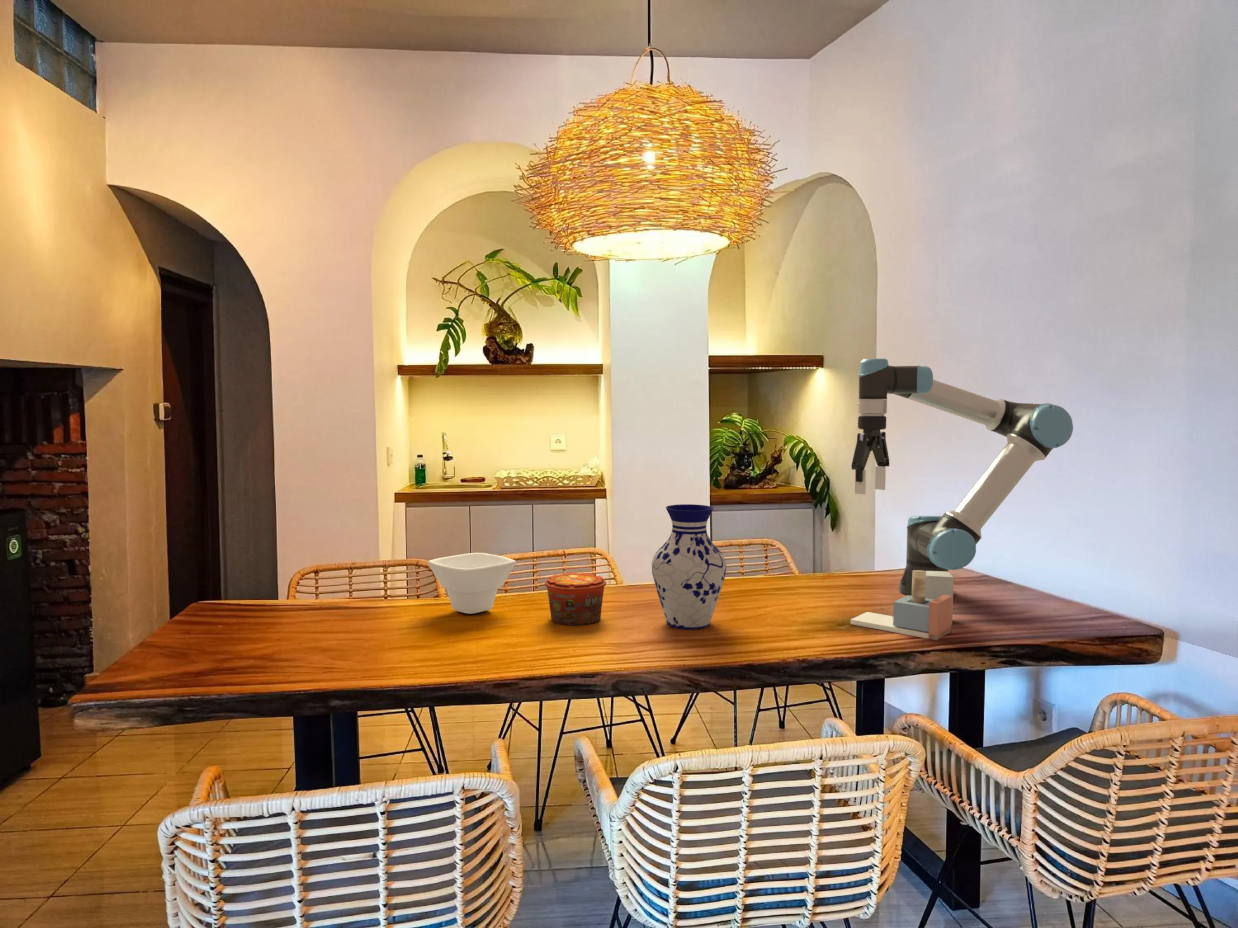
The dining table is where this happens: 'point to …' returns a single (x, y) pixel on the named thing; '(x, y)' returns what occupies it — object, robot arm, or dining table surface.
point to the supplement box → (939, 585)
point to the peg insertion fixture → (937, 628)
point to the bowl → (472, 579)
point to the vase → (688, 569)
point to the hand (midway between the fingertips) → (870, 491)
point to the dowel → (918, 586)
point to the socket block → (911, 614)
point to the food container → (575, 598)
